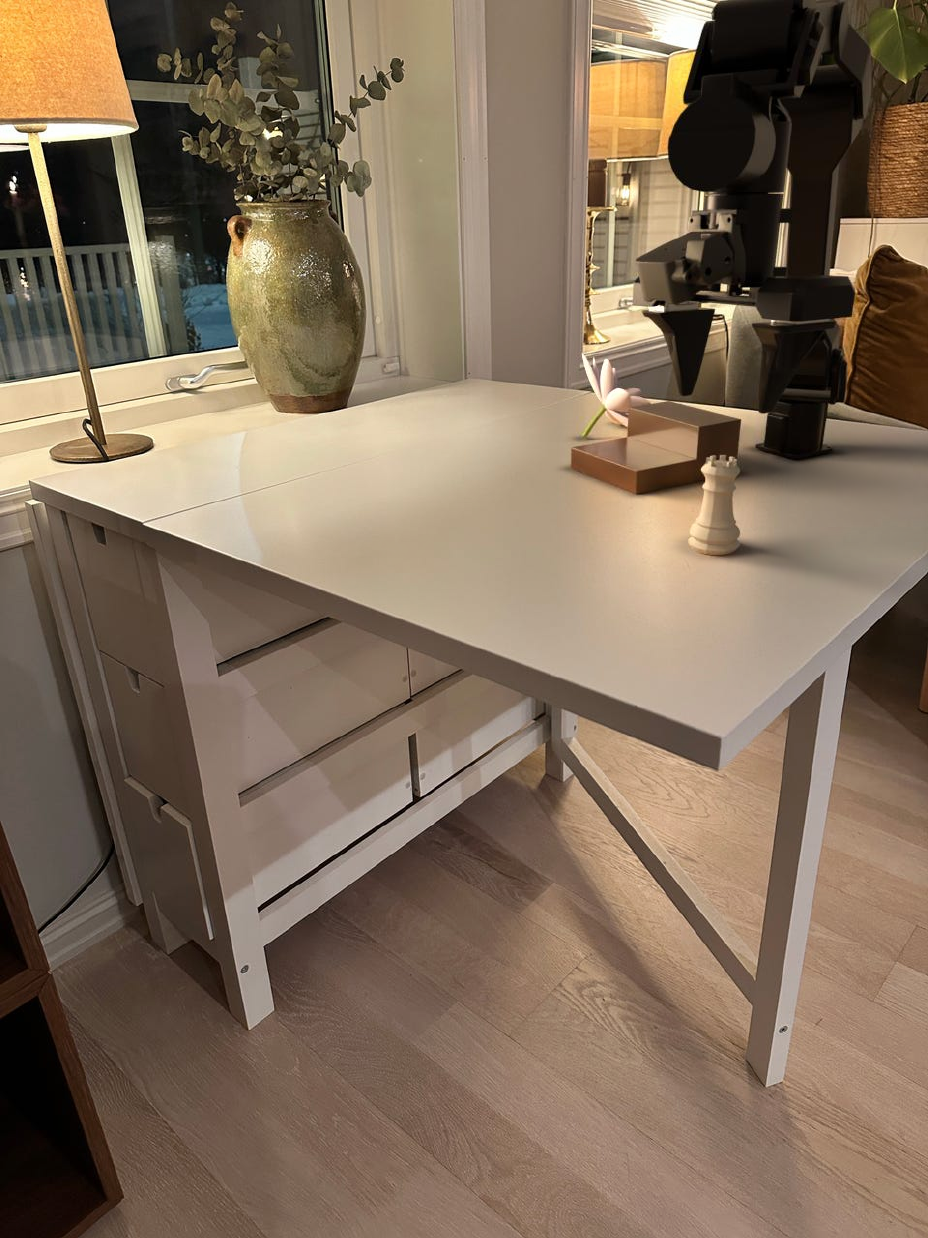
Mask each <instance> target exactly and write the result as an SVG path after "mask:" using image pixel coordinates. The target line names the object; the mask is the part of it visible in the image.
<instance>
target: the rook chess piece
mask: <svg viewBox="0 0 928 1238" xmlns="http://www.w3.org/2000/svg"><path fill="white" fill-rule="evenodd" d="M701 471H702V473H703V474H704V476H705V480H704V481H705V482H704V483H703V484H702V485H701V487H702V489H703V497H702V503H701V508H700V512H699V515H698V516H697V517H696V518H695V522H693V524H692V525H691V527H690V530H689V534H690V535H691V537H689V538H688V540H687V543H688V544H689V546H690V547H691V549H692V550H693V551H695V552H697V553H699V554H703V555H711V556H724V555H729V554H732V553H734V552H735V551H736V550H737V549H738V548H739V547H740V544H741V542H740V541H739V540H738V538H740V536H741V531H740V528H739V527H738V526H737V520H736V519H735V516H734V503H733V498H734V492H735V491H736V489H737V487H736V485H735V482H734V481H735V479H736V477H738V475H739V474H740V472H741V469H740V467H739V466H738V458H737V459H735V457H732V456H731V457H729V461H726V455H720V460H716V456H715V455H713V456H710V458H709V457H707V458H706V464H705V465H704V466H703V467H702V468H701Z"/></svg>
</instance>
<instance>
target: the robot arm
mask: <svg viewBox="0 0 928 1238" xmlns="http://www.w3.org/2000/svg"><path fill="white" fill-rule="evenodd" d="M710 14H711V20H706V21H705V22H704V23H703V26H702V29H701V32H700V35H699V39H698V42H697V46H696V49H695V52H694V56H693V60H692V62H691V67H690V70H689V74H688V77H687V81H686V83H685V87H684V91H683V94H682V103H683V104H684V105H686V107H685V108H684V109H683V110H682V112H681V113H680V114H679V116H678V117H677V118H676V121H675V122H674V124H673V127H672V129H671V133H670V134H669V136H668V140H667V161H668V163H669V167H670V169H671V171H672V173H673V174H674V175H673V176H674V177H675V178H676V179H677V180H678V181H679V182H680V183H681V184H682V185H683V186H684V187H687V188H688V189H690V190H692V191H696V192H701V193H704V194H705V195H704V203H703V209H701V210H700V209H699V210H691V215H690V216H689V217H688V221H687V231H686V233H685V234H684V235H681V236H679V237H676V238H673V239H670V240H669V241H667V242H665V243H662V244H661V245H659V246H657V247H656V248H653V249H651V250H650V251H647V252H646V253H644V254H642V255H640V256H639V257H637V258H636V259H635V265H636V269H637V273H638V276H637V278H636V279H635V280H634V281H633V286H632V287H633V289H632V306H635V307H645V308H648V309H643V310H641V314H642V316H643V317H644V318H648V319H649V320H651V321H652V323H653V324H654V325H655V326H657V327H658V328H659V329H660V331H661V333H662V335H663V338H664V341H665V343H666V344H665V345H666V347H667V350H668V353H669V358H670V361H671V366H672V371H673V373H674V376H675V382H676V385H677V390H678V393H679V396H682V397H690V396H693V393H694V391H695V387H696V384H697V381H698V378H699V375H700V371H701V368H702V363H703V360H704V355H705V350H706V348H707V343H708V339H709V336H710V333H711V329H712V324H713V320H714V316H715V313H716V308H712V307H701V306H699V304H719V305H730V306H742V307H753V308H755V309H756V311H757V312H758V314H759V317H760V318H761V319H762V320H770V321H762V322H752V323H751V328H752V329H753V331H754V333H755V335H756V336H757V339H758V340H759V342H760V344H761V351H760V362H759V363H760V364H759V373H758V374H759V375H758V388H757V411H758V413H759V414H761V415H764V414H766V423H765V431H764V440H763V442H758V443H755V445H754V449H756V450H760V451H764V452H767V453H771V454H774V455H778V456H781V457H785V458H787V459H792V460H799V459H804V458H809V457H813V456H818V455H823V454H828V453H831V452H834V447H833V446H831V445H826V444H824V439H825V432H826V426H827V425H826V424H827V418H828V410H829V405H830V406H831V405H832V406H835V405H836V404H841V403H845V400H846V394H847V385H848V366H849V365H848V364H849V363H848V361H847V360H846V359H845V351H844V350H845V349H844V348H840V340H841V339H840V337H841V328H840V325H839V324H838V321H837V320H836V319H845V318H852V317H853V312H854V311H853V310H854V305H855V298H856V288H855V287H854V285H853V283H852V281H851V279H850V277H849V276H848V275H830V273H831V264H832V253H833V252H832V251H833V239H834V228H835V219H836V206H837V195H838V184H839V183H838V182H839V171H840V163H841V161H842V159H843V158H844V157H845V156H846V154H847V152H848V150H849V149H850V147H851V145H852V144H853V142H854V140H856V138H857V136H858V134H859V133H860V131H861V123H862V120H866V118H867V116H868V112H869V107H870V103H871V102H870V101H871V96H872V49H871V47H870V45H869V44H868V43H867V42H866V41H865V40H864V39H863V37H861V35H860V34H859V33H858V32H857V31H856V29H855V28H854V27H853V26H852V25H851V24H850V18H849V17H850V15H849V3H848V0H719V1H718V2H717V3H716V4H715V5H714V7H712V10H711V13H710ZM828 55H833V62H834V63H835V64H831V65H830V64H829V65H819V66H818V63H819V61H820V59H821V56H828ZM787 172H788V173H789V175H790V186H789V187H790V188H789V207H786V208H783V205H784V196H785V189H786V188H785V186H786V178H787ZM781 224H788V225H787V240H786V241H787V243H786V244H787V245H786V260H785V261H786V262H785V266H776V264H777V256H778V248H779V247H778V245H779V240H780V239H779V238H780V229H781ZM722 285H726V290H721V289H722ZM828 388H829V389H830V390H827V389H828Z"/></svg>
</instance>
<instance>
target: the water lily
mask: <svg viewBox="0 0 928 1238" xmlns="http://www.w3.org/2000/svg"><path fill="white" fill-rule="evenodd" d="M581 357H582V362H583V367H584V370H585V373H586V376H587V378H588V381H589V384H590V386H591V388H592V389H593V391H594V393H595V395H596V396H597V399H598V400H599V402H600V403H601V404H602V408H601V409H600V410H599V412H598V413H596V415H595V416H594V418H593V419H592V420H591V421H590V423H589V424H588V425H587V427H586V428H585V430H584V431H583V433H582V435H581V437H582V438H583V439H584V440H585V439H586V440H587V437H588V436H589V434H590V432H592V430H593V428H594V427H595V425H596V424H597V423H598V421H599V420H600V419H601V417H602V416H603V414H605V416H606V417H607V418H608V419H609V421H611V422H612V423H613V424H616V425H617V426H618V425H619V426H621V425H623V426H625V428H628V412H629V407H635V406H641V405H647V404H652V403H651V401H649V400H647V399H646V398H643V397H641V393H642V391H641V388H636V387H629V388H626V389H623V388H620V387H619V378H618V373H617V370H616V368H615V367H612V364H611V363H610V361H609V359H608V358H606V359H604V361H603V364H602V368H601V371H600V369H599V366H598V364H597V361H596V358H595V357H594V356H593V359H592V363H593V365H591V364H590V362H589V360H588V359H587V358H586V356H585V355H584V353H581Z"/></svg>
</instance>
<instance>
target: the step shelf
mask: <svg viewBox="0 0 928 1238" xmlns="http://www.w3.org/2000/svg"><path fill="white" fill-rule="evenodd" d="M627 414H628V427H627V434H626V435H627V436H626V437H622V438H620V437H619V438H616V439H610V440H605V441H598V442H593V443H587V444H581V445H577V446H572V447H571V448H570V449H571V452H570V459H571V460H570V469H571V470H574V471H577V472H579V473H581V474H585V475H586V476H590V477H592V478H594V479H597V480H599V481H601V482H604V483H607V484H609V485H612V486H614V487H616V488H620V489H622V490H624V491H627V492H628V493H629V492H630V493H632V494H635V495H639V494H642V493H648V492H653V491H657V490H662V489H666V488H671V487H676V486H681V485H685V484H690V483H695V482H700V481H706V479H705V476H704V474H703V473H702V471H701V468H702V467H703V466H704V465H705V464H706V458H707V457H709V458H710V456H713V455H715V456H716V460H720V455H726V461H729V457H731V456H732V457H735V459H737V460H738V456H739V445H740V437H741V436H740V435H741V428H742V427H741V426H742V419H741V418H738V417H734V416H730V415H726V414H722V413H718V412H713V411H710V410H706V409H702V408H698V407H695V406H691V405H687V404H682V403H678V402H674V401H670V400H666V401H661V402H654V403H651V404H647V405H641V406H635V407H629V412H628V413H627Z"/></svg>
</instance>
